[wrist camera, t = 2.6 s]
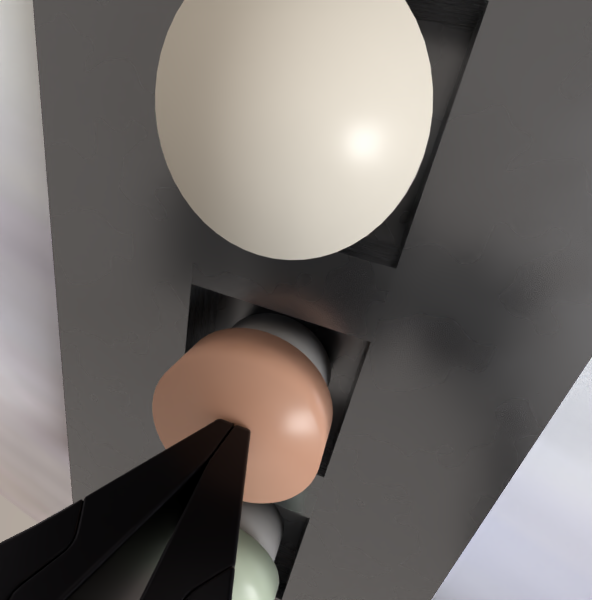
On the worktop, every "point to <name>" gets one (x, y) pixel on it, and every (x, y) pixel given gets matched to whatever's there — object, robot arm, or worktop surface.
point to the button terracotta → (255, 399)
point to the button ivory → (293, 118)
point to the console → (340, 283)
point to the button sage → (257, 552)
